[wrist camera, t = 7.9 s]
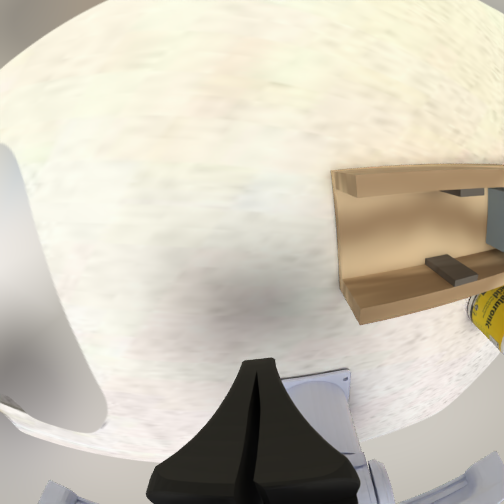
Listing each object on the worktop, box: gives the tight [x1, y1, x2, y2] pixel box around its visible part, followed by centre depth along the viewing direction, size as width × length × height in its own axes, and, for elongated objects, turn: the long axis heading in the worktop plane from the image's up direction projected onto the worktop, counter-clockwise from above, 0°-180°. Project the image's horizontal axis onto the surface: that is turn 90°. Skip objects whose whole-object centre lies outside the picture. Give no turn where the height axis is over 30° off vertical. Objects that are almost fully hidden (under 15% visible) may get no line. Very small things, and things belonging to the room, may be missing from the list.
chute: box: [331, 164, 504, 325], centre depth 17 cm, size 9×19×5 cm, turn 99°
